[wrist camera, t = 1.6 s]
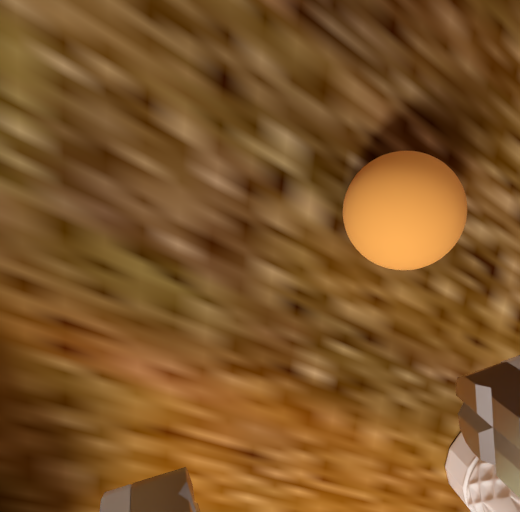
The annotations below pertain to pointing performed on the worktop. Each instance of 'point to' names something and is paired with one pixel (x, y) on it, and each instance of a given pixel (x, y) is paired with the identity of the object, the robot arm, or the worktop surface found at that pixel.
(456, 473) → the white cup
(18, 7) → the worktop surface
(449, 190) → the ball
